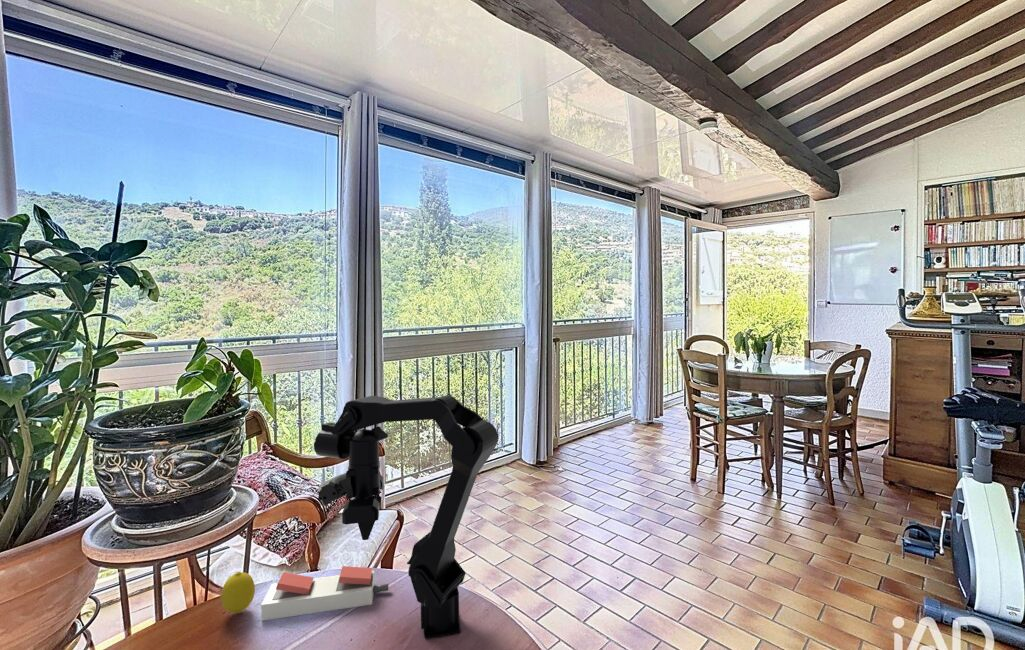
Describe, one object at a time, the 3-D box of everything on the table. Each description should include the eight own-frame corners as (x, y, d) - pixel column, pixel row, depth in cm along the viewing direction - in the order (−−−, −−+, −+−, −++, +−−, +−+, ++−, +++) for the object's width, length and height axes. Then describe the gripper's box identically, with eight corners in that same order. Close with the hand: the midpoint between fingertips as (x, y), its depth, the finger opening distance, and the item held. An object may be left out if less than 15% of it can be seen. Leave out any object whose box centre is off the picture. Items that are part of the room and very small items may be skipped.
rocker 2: (371, 573, 95) (372, 568, 95) (369, 584, 92) (370, 578, 92) (341, 571, 94) (342, 566, 94) (338, 582, 90) (339, 576, 90)
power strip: (389, 582, 98) (388, 568, 98) (387, 602, 91) (387, 586, 91) (272, 598, 93) (271, 583, 93) (261, 620, 86) (261, 604, 86)
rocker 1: (311, 583, 93) (313, 577, 93) (307, 594, 89) (309, 588, 89) (281, 577, 92) (283, 571, 92) (275, 589, 88) (277, 583, 88)
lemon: (244, 622, 85) (243, 580, 85) (215, 622, 85) (214, 580, 85) (261, 604, 91) (260, 564, 91) (233, 604, 91) (232, 564, 91)
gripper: (328, 451, 97) (330, 523, 98) (310, 481, 79) (312, 570, 79) (382, 446, 100) (384, 517, 100) (377, 475, 82) (378, 561, 82)
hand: (365, 539), depth 90 cm, fingers closed
